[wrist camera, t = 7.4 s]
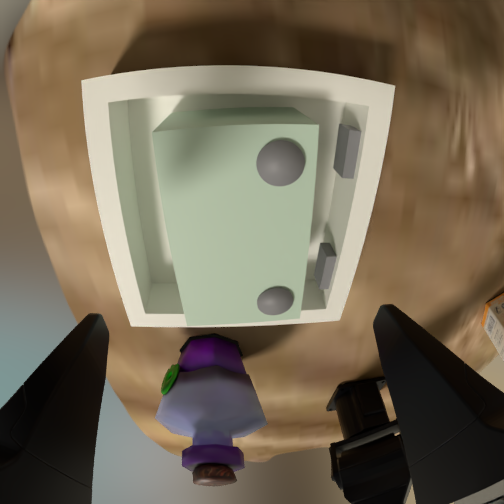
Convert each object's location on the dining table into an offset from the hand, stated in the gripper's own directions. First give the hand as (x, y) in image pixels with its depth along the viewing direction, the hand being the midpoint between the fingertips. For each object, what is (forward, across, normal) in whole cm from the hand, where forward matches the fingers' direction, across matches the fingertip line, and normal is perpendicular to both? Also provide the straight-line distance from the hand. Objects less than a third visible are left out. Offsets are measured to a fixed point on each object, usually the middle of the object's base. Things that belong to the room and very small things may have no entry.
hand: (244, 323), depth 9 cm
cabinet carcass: (+10, 0, 0) cm, 10 cm away
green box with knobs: (+9, 0, 0) cm, 9 cm away
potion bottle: (+10, +2, +15) cm, 18 cm away
